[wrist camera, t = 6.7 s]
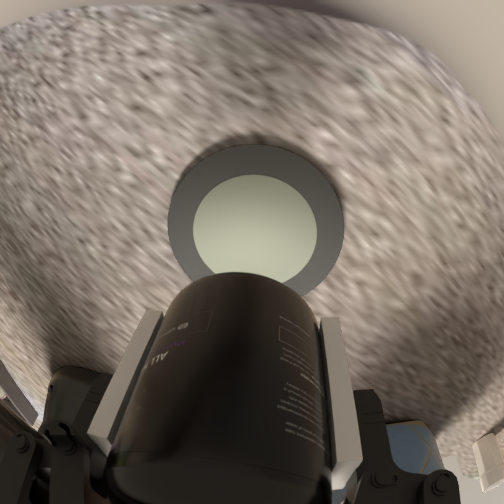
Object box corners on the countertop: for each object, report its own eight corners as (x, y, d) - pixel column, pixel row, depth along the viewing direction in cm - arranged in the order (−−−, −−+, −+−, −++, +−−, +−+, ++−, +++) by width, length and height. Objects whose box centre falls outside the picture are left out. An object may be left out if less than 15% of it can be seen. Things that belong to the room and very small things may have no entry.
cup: (463, 450, 42) (475, 495, 32) (486, 431, 39) (502, 477, 29) (480, 448, 42) (493, 489, 33) (503, 429, 39) (518, 472, 29)
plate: (180, 299, 27) (178, 304, 27) (161, 147, 21) (158, 149, 21) (332, 303, 26) (333, 308, 26) (349, 147, 20) (351, 148, 20)
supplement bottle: (154, 263, 13) (12, 555, 2) (324, 265, 12) (370, 625, 2) (181, 374, 16) (125, 585, 6) (310, 378, 16) (316, 607, 5)
